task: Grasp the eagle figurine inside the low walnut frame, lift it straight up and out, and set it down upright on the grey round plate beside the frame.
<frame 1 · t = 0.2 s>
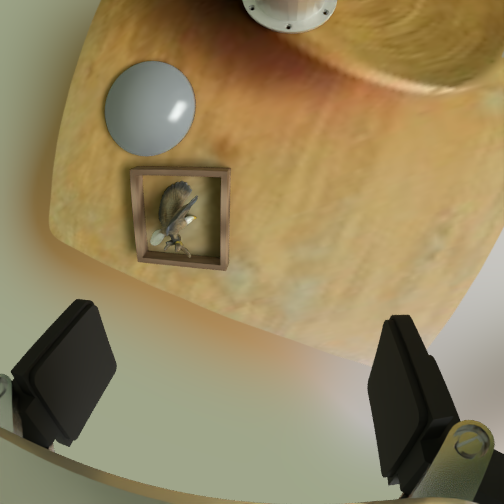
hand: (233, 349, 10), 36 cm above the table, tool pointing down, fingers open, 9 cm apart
walnut frame: (182, 214, 47), on the table
eagle figurine: (183, 212, 47), on the table
grey round plate: (149, 108, 41), on the table
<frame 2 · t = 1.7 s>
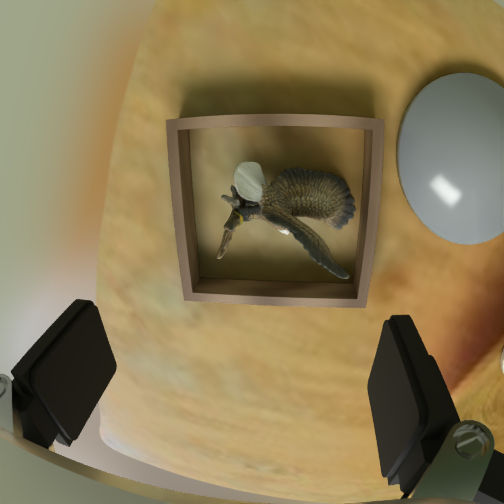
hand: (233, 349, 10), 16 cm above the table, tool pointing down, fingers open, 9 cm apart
walnut frame: (276, 208, 24), on the table
eagle figurine: (292, 206, 24), on the table
grey round plate: (471, 159, 20), on the table
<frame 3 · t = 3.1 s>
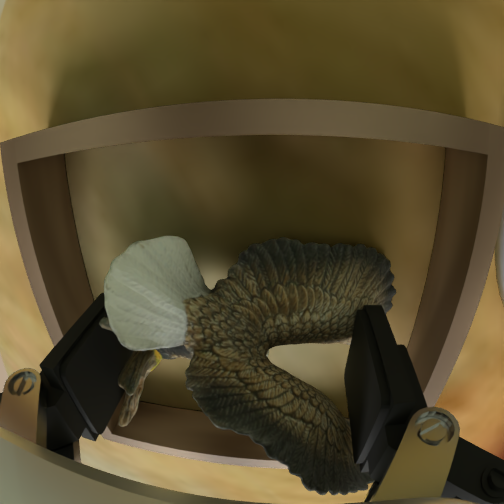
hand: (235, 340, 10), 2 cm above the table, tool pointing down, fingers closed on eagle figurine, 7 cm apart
walnut frame: (245, 312, 12), on the table
eagle figurine: (274, 303, 12), on the table, touching gripper
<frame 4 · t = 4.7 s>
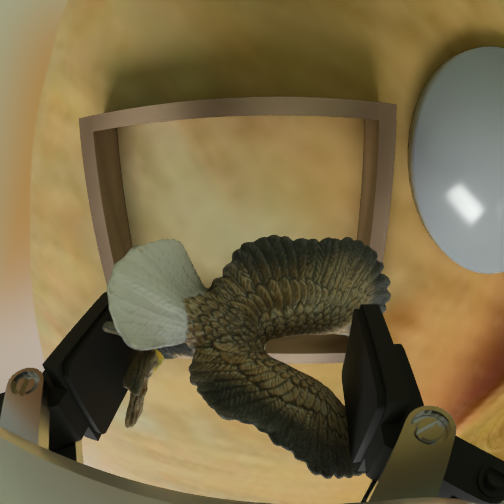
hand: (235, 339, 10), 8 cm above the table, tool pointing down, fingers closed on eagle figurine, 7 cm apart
walnut frame: (238, 233, 18), on the table
eagle figurine: (267, 299, 12), point 6 cm above the table, touching gripper
grey round plate: (503, 162, 14), on the table
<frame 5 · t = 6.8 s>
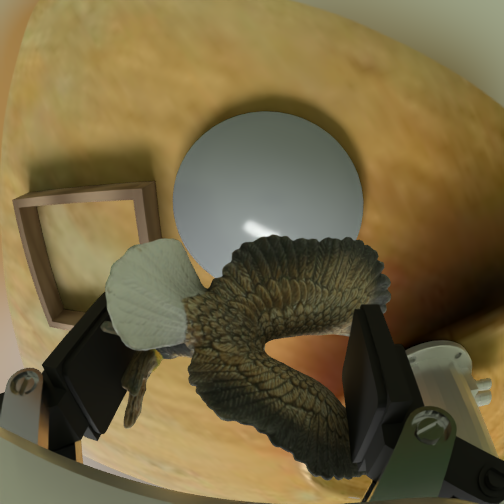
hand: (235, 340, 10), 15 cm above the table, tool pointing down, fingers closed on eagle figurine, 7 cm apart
walnut frame: (95, 260, 28), on the table
eagle figurine: (267, 299, 12), point 13 cm above the table, touching gripper
grey round plate: (267, 206, 24), on the table
when the fingers open (4 cm above the table, at t = 9.3 s): eagle figurine stays where it is, resting on grey round plate.
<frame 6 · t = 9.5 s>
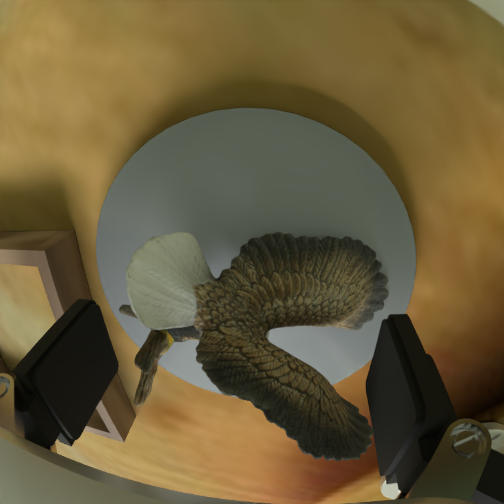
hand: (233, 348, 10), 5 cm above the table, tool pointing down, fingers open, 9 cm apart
walnut frame: (26, 326, 18), on the table
eagle figurine: (273, 292, 13), point 1 cm above the table, touching grey round plate
grey round plate: (250, 276, 14), on the table
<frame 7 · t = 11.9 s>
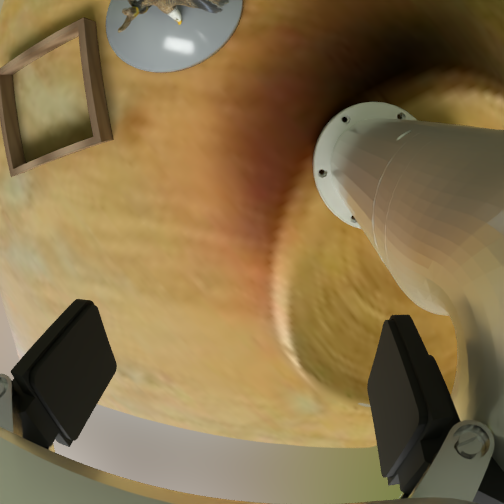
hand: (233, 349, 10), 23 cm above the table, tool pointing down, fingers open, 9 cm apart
walnut frame: (52, 99, 28), on the table
eagle figurine: (183, 6, 23), point 1 cm above the table, touching grey round plate
grey round plate: (172, 9, 24), on the table
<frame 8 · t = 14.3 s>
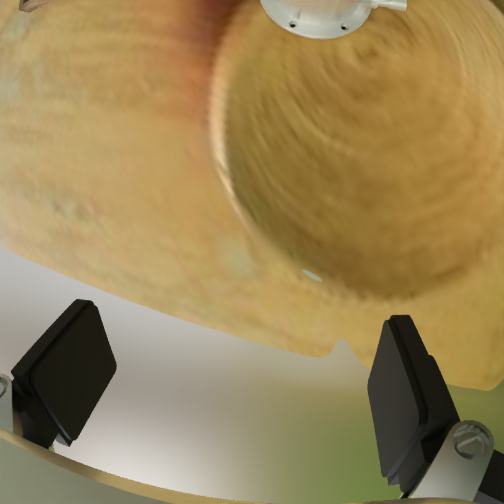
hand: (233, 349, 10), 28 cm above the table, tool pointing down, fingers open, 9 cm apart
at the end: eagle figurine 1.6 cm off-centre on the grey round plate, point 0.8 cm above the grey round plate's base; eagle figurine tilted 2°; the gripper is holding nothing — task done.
